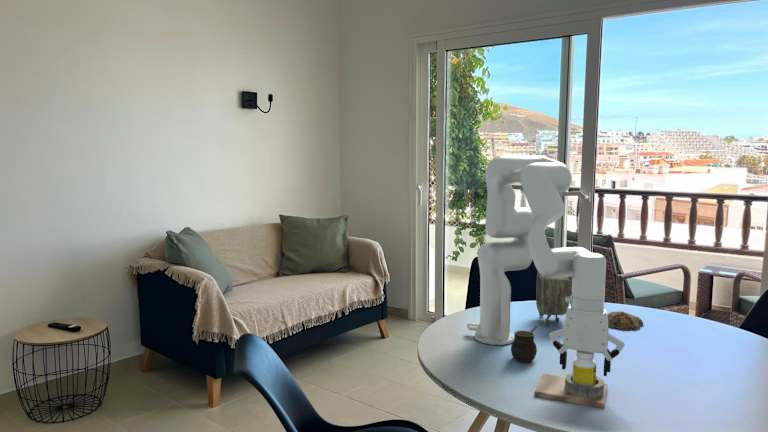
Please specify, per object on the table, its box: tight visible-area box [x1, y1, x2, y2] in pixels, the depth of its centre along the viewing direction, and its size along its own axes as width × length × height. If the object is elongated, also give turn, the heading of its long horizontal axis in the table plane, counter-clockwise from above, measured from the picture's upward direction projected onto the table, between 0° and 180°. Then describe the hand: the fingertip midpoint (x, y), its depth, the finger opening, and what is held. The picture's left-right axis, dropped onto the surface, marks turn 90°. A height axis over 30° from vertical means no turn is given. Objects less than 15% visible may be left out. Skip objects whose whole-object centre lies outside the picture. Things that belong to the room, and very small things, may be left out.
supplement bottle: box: [572, 350, 597, 386], centre depth 135 cm, size 5×5×10 cm
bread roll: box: [607, 310, 644, 332], centre depth 190 cm, size 13×12×5 cm
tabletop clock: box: [535, 270, 570, 327], centre depth 193 cm, size 14×9×25 cm, turn 172°
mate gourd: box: [510, 325, 538, 363], centre depth 158 cm, size 7×8×10 cm
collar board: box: [534, 372, 608, 409], centre depth 137 cm, size 16×12×4 cm
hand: (584, 370), depth 135 cm, fingers open, 9 cm apart
